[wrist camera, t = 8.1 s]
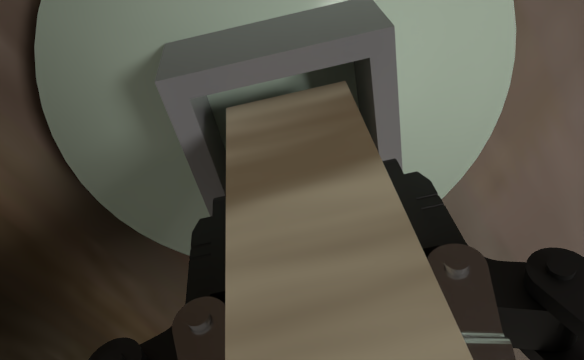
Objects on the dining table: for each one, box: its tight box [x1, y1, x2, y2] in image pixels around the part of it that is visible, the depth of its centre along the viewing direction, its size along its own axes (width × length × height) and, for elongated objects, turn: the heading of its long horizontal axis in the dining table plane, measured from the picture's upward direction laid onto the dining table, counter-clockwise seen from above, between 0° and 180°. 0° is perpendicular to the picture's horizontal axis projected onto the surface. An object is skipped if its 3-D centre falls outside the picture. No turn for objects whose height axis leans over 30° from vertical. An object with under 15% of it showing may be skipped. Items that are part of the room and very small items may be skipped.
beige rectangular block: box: [225, 81, 473, 360], centre depth 13 cm, size 4×4×10 cm
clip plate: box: [34, 0, 516, 255], centre depth 18 cm, size 18×18×4 cm
